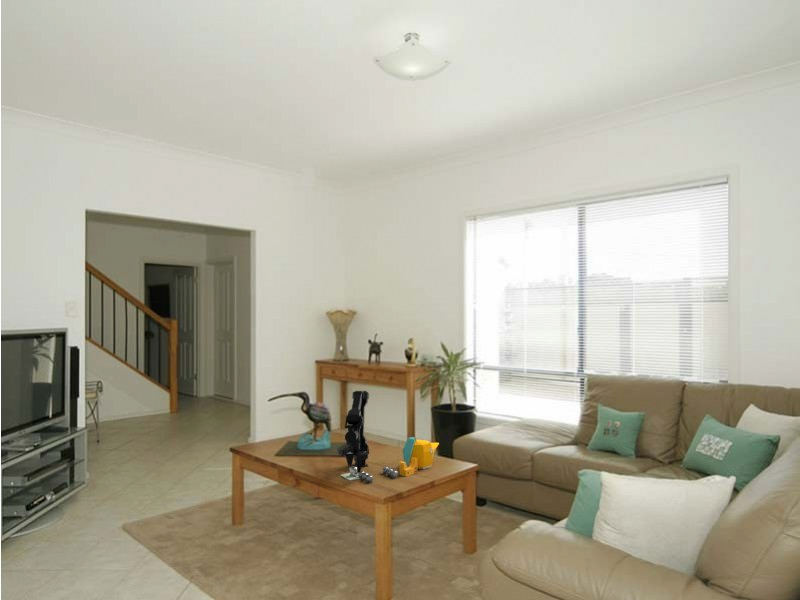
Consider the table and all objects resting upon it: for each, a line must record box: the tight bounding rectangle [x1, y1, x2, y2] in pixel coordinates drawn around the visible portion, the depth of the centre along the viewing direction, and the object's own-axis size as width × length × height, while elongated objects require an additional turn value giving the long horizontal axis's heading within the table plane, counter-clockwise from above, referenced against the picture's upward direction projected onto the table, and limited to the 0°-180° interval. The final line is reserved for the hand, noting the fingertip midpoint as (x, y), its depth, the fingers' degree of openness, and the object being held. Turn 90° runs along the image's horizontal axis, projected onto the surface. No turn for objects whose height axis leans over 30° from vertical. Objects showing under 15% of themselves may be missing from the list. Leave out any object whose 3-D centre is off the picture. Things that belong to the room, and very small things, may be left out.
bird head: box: [402, 436, 440, 470], centre depth 299 cm, size 14×26×16 cm, turn 134°
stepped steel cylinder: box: [349, 465, 358, 477], centre depth 278 cm, size 4×4×4 cm
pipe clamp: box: [399, 457, 419, 477], centre depth 284 cm, size 12×4×6 cm, turn 143°
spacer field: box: [358, 466, 398, 484], centre depth 276 cm, size 11×17×3 cm, turn 122°
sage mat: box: [340, 472, 361, 482], centre depth 278 cm, size 10×10×1 cm
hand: (354, 470), depth 278 cm, fingers open, 9 cm apart
